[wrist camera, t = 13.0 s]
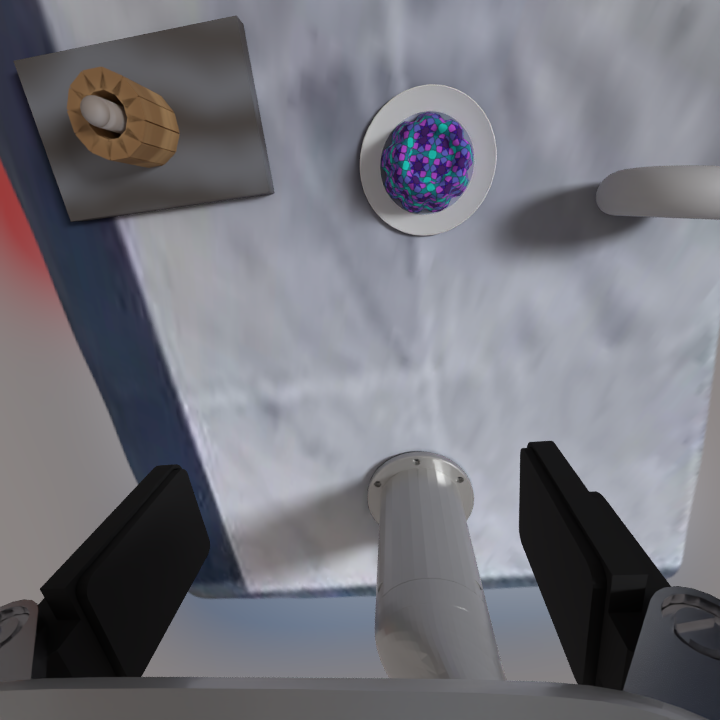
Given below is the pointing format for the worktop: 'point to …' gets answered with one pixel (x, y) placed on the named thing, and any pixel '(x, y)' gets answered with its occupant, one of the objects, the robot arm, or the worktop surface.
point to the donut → (662, 192)
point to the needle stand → (184, 96)
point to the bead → (144, 120)
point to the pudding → (428, 160)
